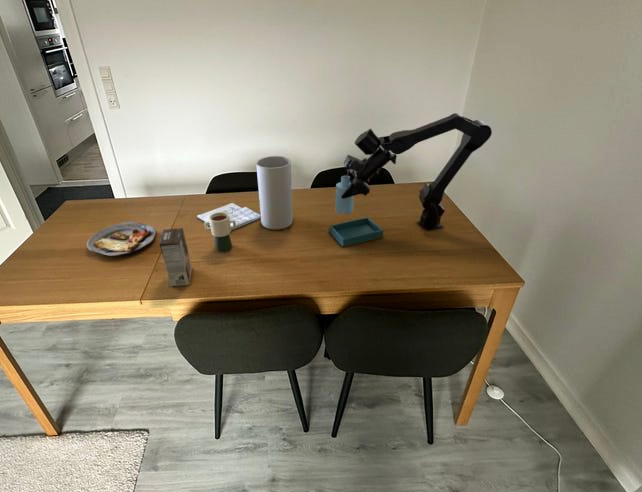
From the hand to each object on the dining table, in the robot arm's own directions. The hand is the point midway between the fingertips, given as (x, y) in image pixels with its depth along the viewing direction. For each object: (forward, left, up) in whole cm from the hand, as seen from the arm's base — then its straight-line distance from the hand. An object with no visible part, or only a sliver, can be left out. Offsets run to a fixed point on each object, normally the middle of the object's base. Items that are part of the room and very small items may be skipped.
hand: (340, 194), depth 138 cm
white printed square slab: (+38, -24, -13) cm, 47 cm away
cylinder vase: (+21, -12, -13) cm, 28 cm away
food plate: (+80, -22, -13) cm, 84 cm away
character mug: (+45, -2, -13) cm, 47 cm away
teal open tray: (-2, +9, -13) cm, 16 cm away
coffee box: (+62, +10, -13) cm, 64 cm away
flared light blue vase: (-1, +1, -7) cm, 7 cm away
